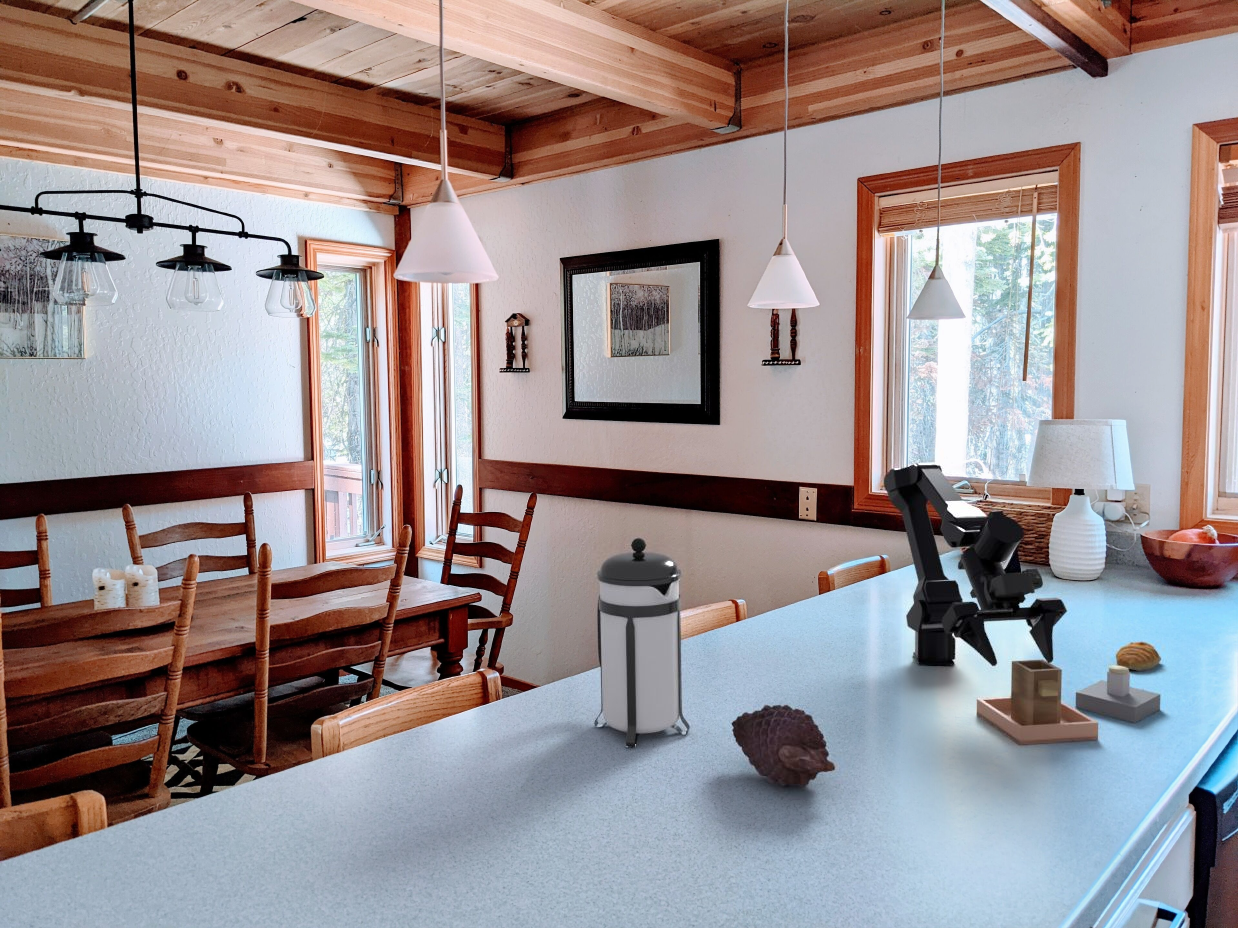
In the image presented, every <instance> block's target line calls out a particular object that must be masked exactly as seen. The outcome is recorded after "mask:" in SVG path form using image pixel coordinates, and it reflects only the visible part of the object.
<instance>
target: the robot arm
mask: <svg viewBox="0 0 1238 928" xmlns="http://www.w3.org/2000/svg"><path fill="white" fill-rule="evenodd" d="M883 486H884V490H885V491H886V492H887V496H888V499H889V502H890V503H891V505H893V506H894V507H895V508H896V509H897V510H898V511H899V512H900V513H901V515H902V520H903V522H904V528H905V533H906V537H907V540H908V545H909V548H910V553H911V556H912V560H913V565H914V569H915V573H916V577H917V585H916V587H915V590H914V593H913V595H912V597H913V604H912V606H911V607H910V608H909V611H908V612H907V614H906V615H905V616H906V624H907V627H908V628H909V629H911V630H913V631H914V634H915V635H914V645H915V646H914V652H912V655H913V656H912V657H914V659H915V661H916V663H917V664H918V665H922V666H923V665H927V666H928V665H929V666H932V665H934V666H955V660H956V638H959V639H961V640H962V641H963V642H965V643H966V644H967V645H969V646H970V647H971V648H972V649H974V650H975V652H977V653H978V654H979V655H980V656H981V657H982V658H983V659H984V660H985V661H987V663H988V664H989V665H991V666H992V667H996V666H997V664H998V660H997V656H996V654H995V651H994V649H993V646H992V644H991V641H990V639H989V637H988V635H987V634H988V633H987V632H986V628H985V622H987V623H988V622H1003V621H1004V622H1007V621H1022V620H1023V621H1024V620H1025V623H1026V625H1027V626H1028V627H1030V628H1031V629H1030V630H1029V634H1030V635H1031V636H1030V637H1031V638H1032V639H1033V641H1034V643H1035V645H1036V646H1037V648H1038V650H1039V652H1040V653H1041V656H1042V657H1043V658H1044V659H1045V661H1046V662H1048V663H1050V664H1052V662H1053V661H1054V646H1053V644H1054V643H1053V641H1054V640H1053V631H1054V627H1055V625H1056V624H1058V622H1059V621H1060V620H1061V619H1062V618H1063V617H1064V615H1066V613H1067V612H1068V610H1067V607H1066V605H1065V603H1064V601H1063V600H1062V599H1061V598H1059V597H1043V598H1036V599H1035V600H1034V601H1033V602H1032V604H1031V605H1030V606H1027V607H1025V606H1024V607H1020V604H1023V603H1024V602H1025V601H1026V597H1025V596H1026V595H1029V594H1034V593H1035V590H1039V589H1041V588H1043V586H1044V582H1043V577H1042V575H1041V574H1040V571H1039V570H1038V568H1037V567H1036V568H1032V567H1031V568H1026V569H1024V570H1021V572H1014V573H1013V572H1009V573H1006V571H1005V569H1004V567H1003V564H1002V563H1003V562H1005V561H1007V560H1008V559H1009V558H1010V556H1011V555H1012V553H1013V552H1014V551H1015V549H1016V548H1017V547H1018V545H1019V544H1020V542H1021V541H1022V540H1023V538H1024V535H1025V534H1024V533H1025V532H1024V529H1023V526H1022V525H1021V524H1019V523H1018V521H1016V520H1015V519H1013V517H1010V516H1007V515H1005V514H1004V512H1003V510H990V511H989V513H988V514H987V515H986V513H984V512H983V511H982V510H981V509H980V508H978V507H977V506H973V505H971V504H968V503H966V501H964V499H963V498H962V496H961V495H960V494H959V492H958V491H957V490H956V489H955V488H954V486H953V485H952V484H951V482H950V481H949V480H948V478H947V477H946V476H945V475H944V473H943V470H942V467H941V465H940V464H939V463H936V462H915V463H914V464H911V465H909V466H905V467H902V468H891V469H890V470H889V471H888V473H886V474H885V475H884V478H883ZM928 502H929V503H930V505H931V506H932V508H933V510H935V512H936V513H937V515H938V516H939V517H940V520H941V522H942V523H941V526H940V531H941V533H942V536H943V538H944V540H945V541H946V543H947V544H948V546H949V547H951V548H952V549H953V548H956V549H957V548H958V549H959V548H960V549H961V548H966V549H965V550H964V552H963V553H961V555H960V559H959V561H958V564H957V569H958V570H964V571H965V573H966V575H967V578H968V581H969V582H970V586H971V588H972V589H971V591H970V592H969V594H970V597H971V599H976V601H977V602H975V601H963V600H964V599H963V598H962V594H961V593H960V587H959V584H958V583H959V582H957V581H956V580H955V579H949V578H948V577H947V576H946V575H945V573H944V568H943V565H942V564H943V563H942V561H941V557H940V553H939V549H938V546H937V543H936V542H937V540H936V539H935V535H934V534H935V533H934V530H933V526H932V522H931V518H930V514H929V509H928V506H927V505H928Z"/></svg>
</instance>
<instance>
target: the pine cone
mask: <svg viewBox="0 0 1238 928" xmlns="http://www.w3.org/2000/svg"><path fill="white" fill-rule="evenodd" d="M731 727H732V735H733V738H735V742H736V744H737V746H738V747H740V748H741V750H742V753H743V754H744V755H745V757H747V758H748V761H749V764H750V765H751V766H753V767H754V769H755V770H756V772H757V774H758V775H760V777H766V779H767V780H768V782H769V783H771V784H777V783H778V784H780V785H781V786H783V787H784V786H787V785H790V786H793V785H794V787H797V786H801V787H806V786H807V785H809V783H810V781H814V780H815V779H816V778H817V776H818V774H819V773H827V772H833V771H835V770H836V766H835V763H834V762H832V761H831V760H828V757H829V755H830V752H829V751H828V749H827V748H826V747H827V745H828V744H827V741H826V740H825V737H824V734H823V733H822V731H821V730H820V729H819V725H818V724H817V723H815V722H814V719H813V716H812V714H808V713H806V711H805V710H802V709H799V708H794V709H793V708H792V707H791V706H790V705H789V704H784V705H781V704H776V705H772V706H771V705H768V704H765V705H763V706H762V708H761V710H760V709H758V710H754V711H753V712H751V713H749V712H747V711H745V712H743V713H742V714H741V715H739V716H737V717H736V719H735V720H733V721H732V722H731Z"/></svg>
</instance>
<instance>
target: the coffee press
mask: <svg viewBox="0 0 1238 928" xmlns="http://www.w3.org/2000/svg"><path fill="white" fill-rule="evenodd" d="M630 547H631V549H632V551H633V552H632V551H631V552H624V553H623V552H622V553H619V554H618V553H617V554H615V555H611V556H609V557H608V558H606V559H605V560H604V561H603V562H602V564H601V566H600V568H599V570H598V571H597V572H596V579H597V581H598V582H599V596H598V600H597V610H596V611H597V614H596V615H597V616H596V617H597V652H598V661H599V662H598V663H599V666H600V695H601V696H600V697H601V698H600V700H601V706H600V707H601V710H600V712H599V714H598V716H597V717H596V718H595V720H594V724H593V725H594V726H595V727H596V726H597V725H598V724H600V723H599V721H598V719H599V717H600V716H601V715H602V717H603V719H604V723H602V724H603V726H602V728H603V727H604V726H606V725H608V726H609V727H611V728H613V729H615V730H617V731H621V732H624V733H626V739H625V747H626V746H628V747H627V748H633V747H635V744H637V745H638V739H639V736H640V734H651V733H652V734H653V733H657V732H661V731H665V730H668V729H670V728H673V729H674V730H676V731H677V732H678V733H679V734H680V735H681V734H682V732H683V731H684V730H683V729H682V728H681V727H680V726H679V725H678V724H676V723H677V722H678V721H679V719H680V721H681V722H682V724H683V725H684V726H685V728H686V729H687V730H685V731H686V735H687V734H688V733H689V731H690V729H691V727H690V724H689V723H688V721H687V720H686V719H685V717H684V714H683V702H682V701H683V695H682V691H683V689H682V688H683V687H682V634H681V633H682V628H681V627H682V626H681V623H682V621H681V619H682V618H681V617H682V616H681V594H680V593H679V592H680V591H679V589H680V588H679V583H680V580H681V578H682V571H681V570H680V569H679V568H678V565H677V563H676V561H675V560H674V559H673V558H672V557H670V556H668V555H665V554H663V553H657V552H650V551H645V550H646V547H647V544H646V541H645V540H644V539H643V538H641V537H637V538H635V539H633V540H632V541H631V544H630Z"/></svg>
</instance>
